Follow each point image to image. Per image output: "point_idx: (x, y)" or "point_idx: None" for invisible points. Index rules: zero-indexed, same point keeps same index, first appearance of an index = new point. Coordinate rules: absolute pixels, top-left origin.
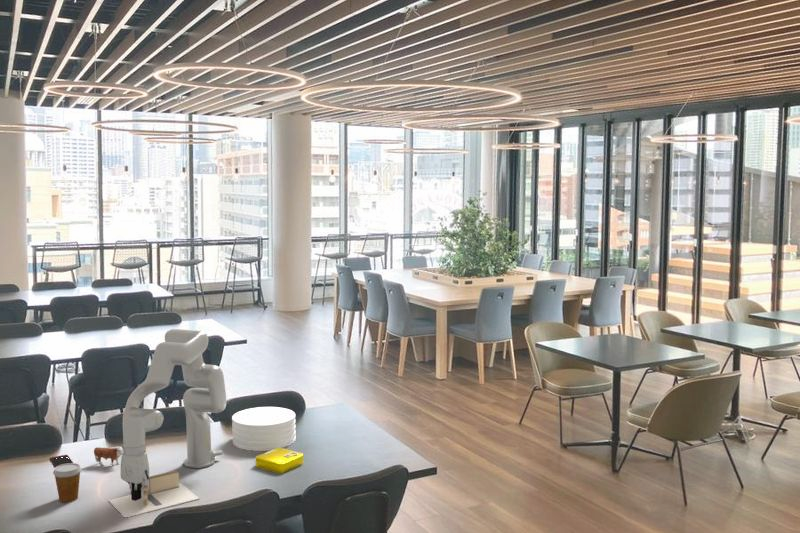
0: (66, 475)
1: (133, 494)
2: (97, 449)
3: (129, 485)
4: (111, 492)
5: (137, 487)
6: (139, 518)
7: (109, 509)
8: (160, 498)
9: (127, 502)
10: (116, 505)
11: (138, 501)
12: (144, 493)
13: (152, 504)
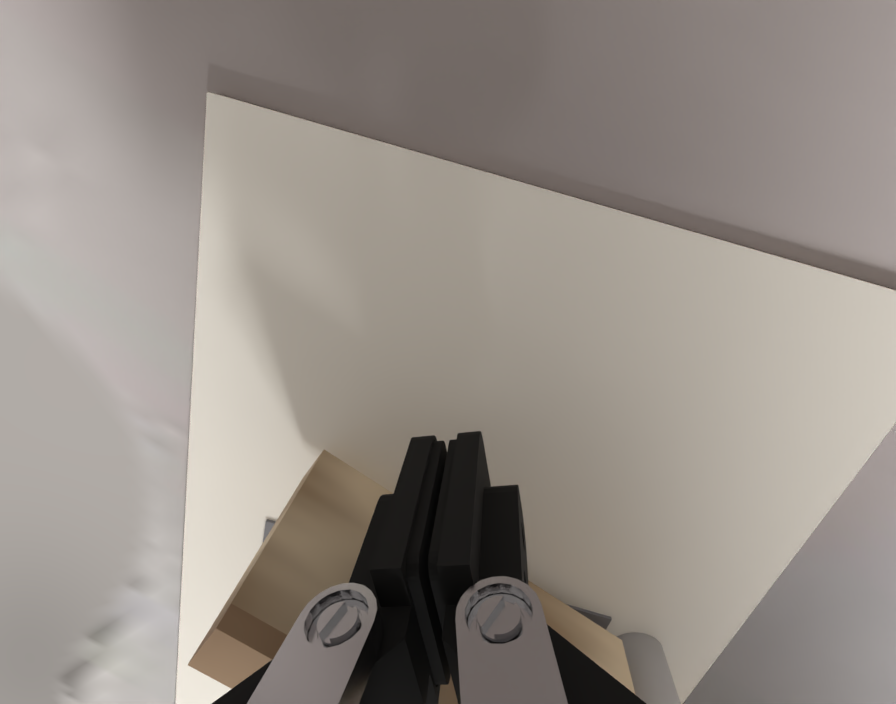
0: None
1: (415, 497)
2: None
3: (546, 654)
4: None
5: (280, 662)
6: (95, 228)
7: (698, 133)
8: None
9: (629, 417)
10: (688, 271)
11: (531, 502)
12: (238, 593)
13: None
